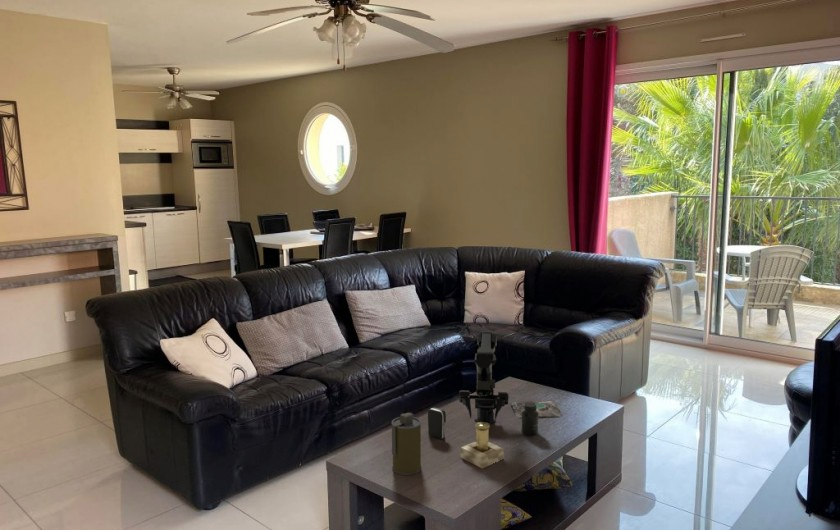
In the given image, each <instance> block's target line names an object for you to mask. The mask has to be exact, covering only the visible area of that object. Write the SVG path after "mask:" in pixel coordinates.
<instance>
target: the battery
mask: <svg viewBox="0 0 840 530" xmlns="http://www.w3.org/2000/svg"><path fill="white" fill-rule="evenodd" d="M427 412H428V413H427V428H428V432H427V435H428V436H430V437H433V438H436V439H440V440H443V439H444V438H445V435H446V434H445V424H446V422H447V413H446V411H445V410H444V409H441V408H439V407H432V408H430V409H428V410H427Z"/></svg>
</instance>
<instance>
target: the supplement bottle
mask: <svg viewBox="0 0 840 530" xmlns="http://www.w3.org/2000/svg"><path fill="white" fill-rule="evenodd" d="M536 407H537V406H536V404H534V403H525V404H524V410H523V411H522V416H521V418H520V419H521V420H520V421H521V424H520V426H521V427H520V433H521V434H522V435H523V436H525V437H535V436H537V435H539V421H540V418H539V413H538V412H537V411H536V410H537V408H536Z"/></svg>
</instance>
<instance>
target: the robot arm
mask: <svg viewBox="0 0 840 530" xmlns="http://www.w3.org/2000/svg"><path fill="white" fill-rule="evenodd" d="M476 337H477V340H476V343H477V346H478V348H477V352H476V353H475V355H474V364H475V365H476V385H475V392H476V393H471V392H470V390H463V389H462V390H459V392H458V401H459V403H461V404H462V405H464V406H465V407H466V410H467V412H468V415H469V419H472V407H471V400H474V409H477V413H476V415H477V418H474V421H475V422H476V423H478V422H486V423H489V424H493V423H495V422H496V421H497V419H498V416H499V413H500V411H501V409H502V407H505V406H506V405H509V393H508V392H507V391H497V394H495V392H494V391H495V390H494V389H496V379H493V378H492V376H493V374H492V373H493V370H492V369H493V368H492V366H493V365H495V363H497V357H496V355H495V352H496V347H497V341H498V339H497V337H498V335H497V334H495V333H494V332H493V331H485V330H482V331H481V332H480V333H478V334H477V336H476ZM494 410H495V412H494Z"/></svg>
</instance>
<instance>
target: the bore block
mask: <svg viewBox="0 0 840 530" xmlns="http://www.w3.org/2000/svg"><path fill="white" fill-rule="evenodd" d="M504 450H505V449H504V448H502V447H500V446H498V445H497V444H494V443H492V442H490V441H488V451H486V452H483V453H482V452H480V451H478V450H476V441H473V442H471V443H468V444H465V445H464V446H460V458H461V459H463V460H466V461H467V462H469V463H470V464H472V465H475V466H476V467H479V468H481V469H484V468H487V467H488V466H489V467H490V466H492V465H493V463H494V464H495V462H496V463H498V462H500V460H501V461H503V460H504V456H505V454H504ZM502 459H503V460H502Z"/></svg>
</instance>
